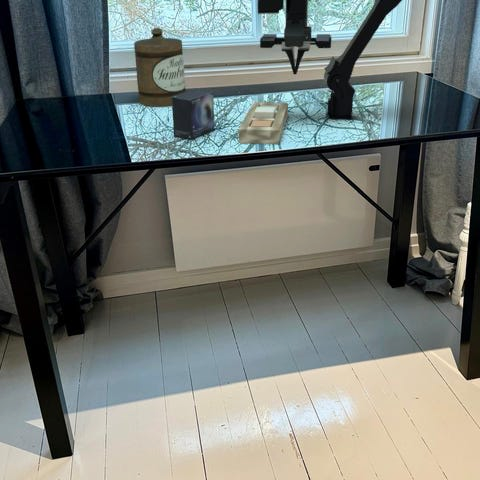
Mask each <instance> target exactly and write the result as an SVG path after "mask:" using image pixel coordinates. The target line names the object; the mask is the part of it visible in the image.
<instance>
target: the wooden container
mask: <svg viewBox="0 0 480 480" xmlns="http://www.w3.org/2000/svg"><path fill="white" fill-rule="evenodd" d="M150 34H151V35H152V36H151V38H144V39H140V40H139V39H138V40H136V41H134V43H133V45H134V46H133V47H134V54H135V55H134V57H135V67H136V83H137V90H138V101H139V102H138V103H139V104H140V105H143V106H146V107H152V108H153V107H155V108H163V107H172V96H175V95H178V94H181V93H184V92H187V90H186V77H185V75H186V74H185V65H184V54H183V52H184V51H183V41H182V39H179V38H174V37H173V38H171V37H165V36H164V35H163V29H161V28H160V27H154V28H153V29H152V30H151V33H150Z"/></svg>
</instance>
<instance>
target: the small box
mask: <svg viewBox="0 0 480 480" xmlns="http://www.w3.org/2000/svg"><path fill="white" fill-rule="evenodd" d="M214 103H215V102H214V91H211V90H206V89H200V88H193V89H189V90H186V92H184V93H181V94H178V95H175V96H172V106H171V108H172V124H173V125H172V127H173V136H174V137H176V138H183V139H187V140H194V139H196V138H198V137H201V136H204V135H205V134H208V133H210V132H212V131H214V130H215V108H214V107H215V106H214V105H215V104H214Z"/></svg>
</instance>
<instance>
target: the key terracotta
mask: <svg viewBox="0 0 480 480" xmlns="http://www.w3.org/2000/svg"><path fill="white" fill-rule="evenodd" d="M251 126H252V127H272V121H260V120H253V122H252V124H251Z"/></svg>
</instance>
